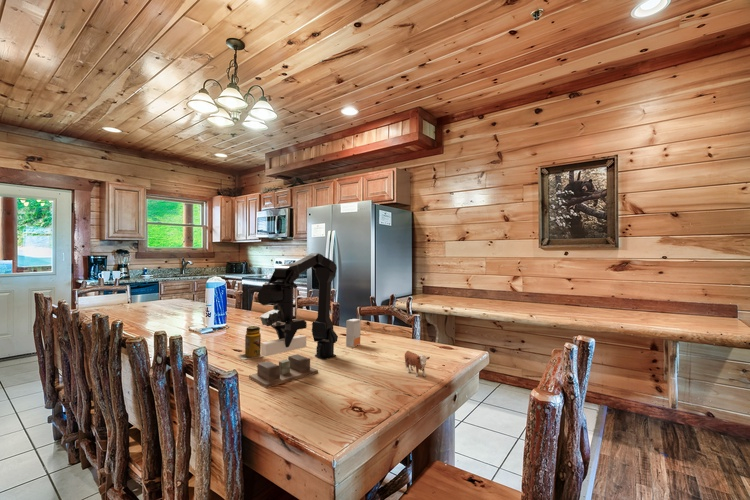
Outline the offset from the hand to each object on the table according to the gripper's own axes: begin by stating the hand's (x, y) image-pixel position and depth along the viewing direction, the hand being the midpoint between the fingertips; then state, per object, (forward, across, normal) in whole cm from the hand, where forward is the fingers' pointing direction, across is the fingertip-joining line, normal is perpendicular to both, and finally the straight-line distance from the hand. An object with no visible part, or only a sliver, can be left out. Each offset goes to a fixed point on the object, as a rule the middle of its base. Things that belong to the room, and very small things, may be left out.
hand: (284, 346), depth 121 cm
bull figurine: (+10, +32, +34) cm, 48 cm away
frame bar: (+2, 0, 0) cm, 2 cm away
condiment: (+10, -30, +2) cm, 32 cm away
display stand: (+10, 0, 0) cm, 10 cm away
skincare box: (+11, -13, +44) cm, 47 cm away
